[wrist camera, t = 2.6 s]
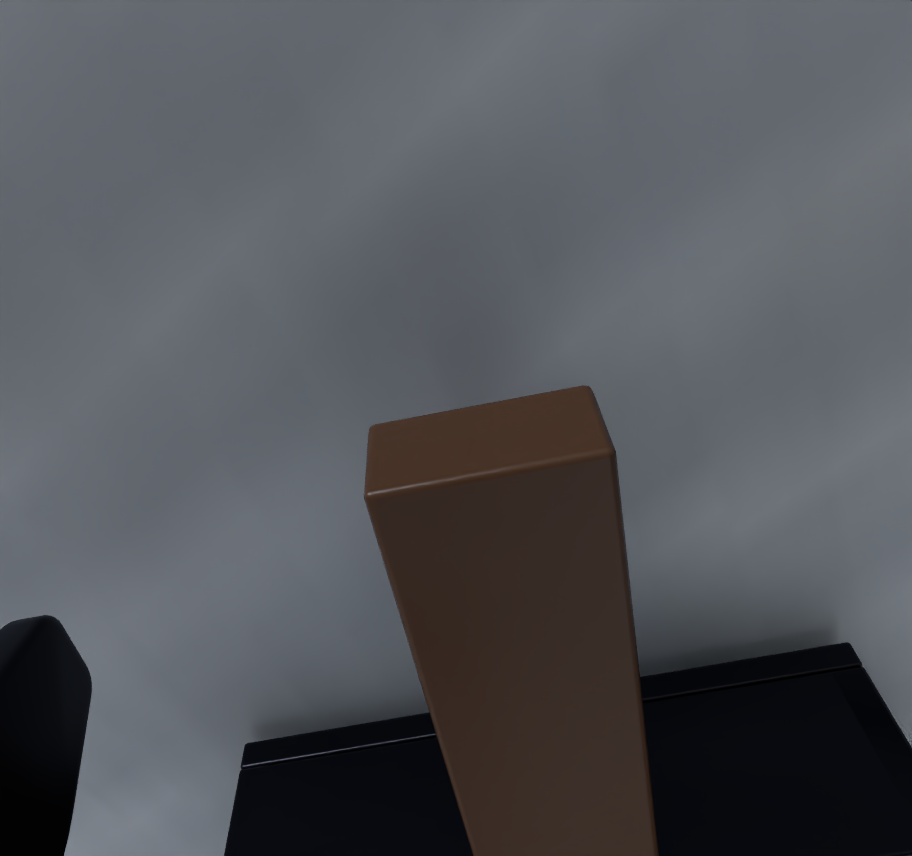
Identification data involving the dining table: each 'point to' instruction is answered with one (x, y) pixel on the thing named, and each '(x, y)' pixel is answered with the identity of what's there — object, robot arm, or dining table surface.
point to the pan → (564, 685)
